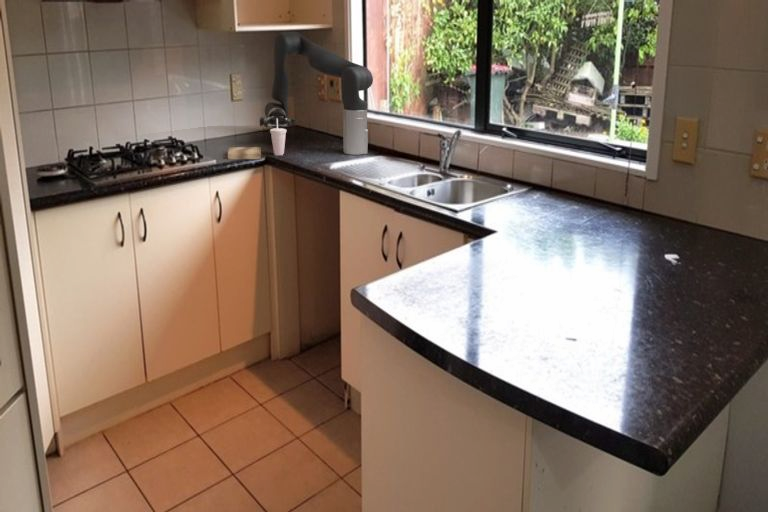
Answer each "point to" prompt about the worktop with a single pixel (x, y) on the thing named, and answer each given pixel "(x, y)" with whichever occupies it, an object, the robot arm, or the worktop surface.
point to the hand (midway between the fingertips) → (277, 124)
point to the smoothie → (278, 139)
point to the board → (244, 153)
